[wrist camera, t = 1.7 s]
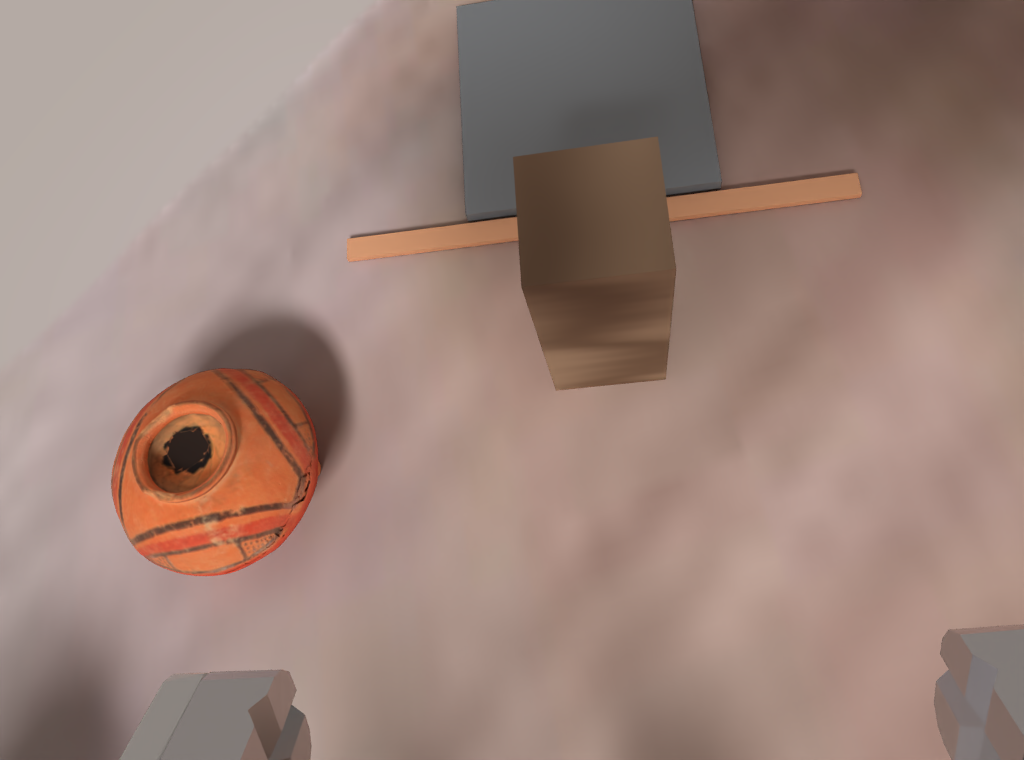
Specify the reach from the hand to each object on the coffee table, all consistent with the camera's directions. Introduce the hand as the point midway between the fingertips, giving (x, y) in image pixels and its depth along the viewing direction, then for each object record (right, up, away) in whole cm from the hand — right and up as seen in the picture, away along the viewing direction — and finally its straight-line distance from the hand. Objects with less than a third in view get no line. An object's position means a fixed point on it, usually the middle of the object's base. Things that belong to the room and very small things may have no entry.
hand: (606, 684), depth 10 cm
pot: (-12, -1, +23) cm, 26 cm away
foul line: (+2, +11, +24) cm, 27 cm away
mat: (+2, +17, +26) cm, 31 cm away
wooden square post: (+3, +6, +23) cm, 24 cm away
